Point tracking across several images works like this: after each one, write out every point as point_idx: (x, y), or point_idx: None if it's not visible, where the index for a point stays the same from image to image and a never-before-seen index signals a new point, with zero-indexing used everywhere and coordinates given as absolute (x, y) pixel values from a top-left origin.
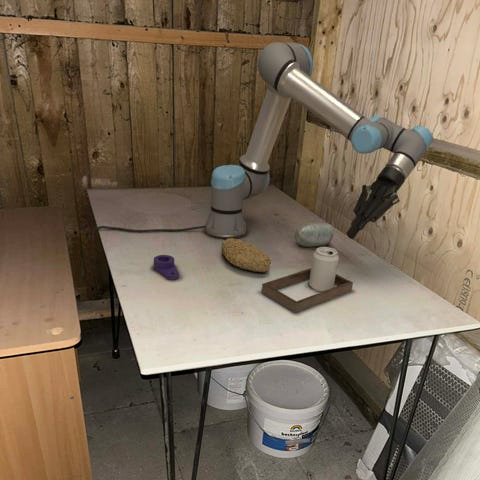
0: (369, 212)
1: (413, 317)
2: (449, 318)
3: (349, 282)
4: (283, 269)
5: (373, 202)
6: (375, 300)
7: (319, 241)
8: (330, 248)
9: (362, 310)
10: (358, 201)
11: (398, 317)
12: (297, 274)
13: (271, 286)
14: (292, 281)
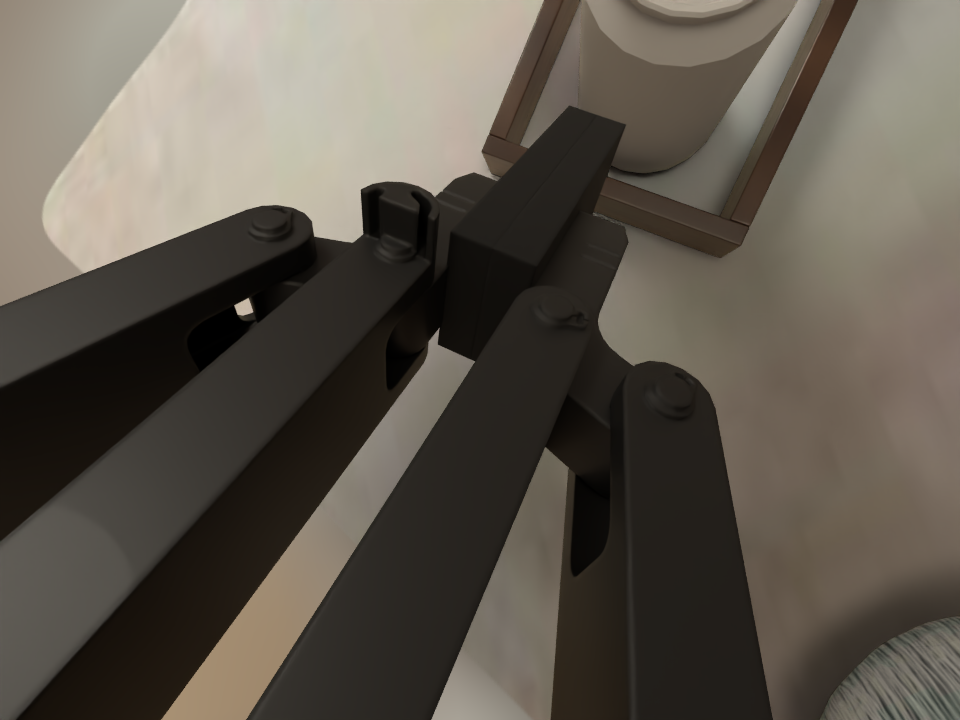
0: (317, 298)
1: (212, 111)
2: (106, 196)
3: (498, 134)
4: (947, 189)
5: (151, 569)
6: (371, 156)
7: (892, 662)
8: (698, 5)
9: (397, 22)
10: (725, 704)
11: (260, 69)
12: (820, 26)
13: None
14: (817, 18)
